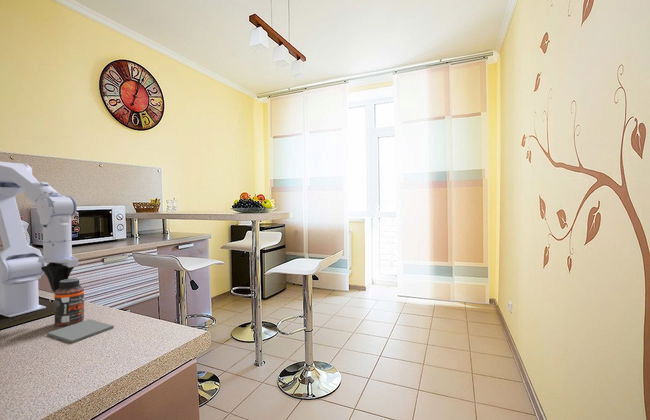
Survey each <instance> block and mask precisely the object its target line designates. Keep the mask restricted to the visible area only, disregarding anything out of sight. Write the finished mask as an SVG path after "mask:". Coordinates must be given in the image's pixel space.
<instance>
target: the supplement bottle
mask: <svg viewBox="0 0 650 420" xmlns="http://www.w3.org/2000/svg"><path fill="white" fill-rule="evenodd" d="M59 286H60V287H59V289H57V290H56V291H55V292H54V325H55V326H57V327H67V326H70V325H73V324H76V323H79V322H83V321H84V319H85V290H84V287H83V286H81V284H80V279H79V278H68V279H65V280H61V281H60V285H59Z"/></svg>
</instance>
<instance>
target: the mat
mask: <svg viewBox="0 0 650 420" xmlns="http://www.w3.org/2000/svg"><path fill="white" fill-rule="evenodd" d="M114 327H115V326H114V325H112V324H109V323H105V322H102V321H98V320H94V319H86V320H82V321H81V322H79V323H76V324H73V325H68V326H63V327H61V328H59V329H55V330H52V331H48V332H47V336H49V337H52V338H55V339H57V340H58V339H59V340H61V341H63V342H67V343H70V344H74V343H77V342H79V341H82V340H85V339H87V338H90V337H93V336H95V335H98V334H102V333H104V332H107V331H109V330H111V329H114Z"/></svg>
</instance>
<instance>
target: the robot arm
mask: <svg viewBox="0 0 650 420" xmlns="http://www.w3.org/2000/svg"><path fill="white" fill-rule="evenodd" d="M22 193H24V196H25V197H26V198H27V199H28V200H29V201H30V202H31V203H32V204H34V205H35V206H36V212H37V214H38V217H39V222H40V225H42V242H43V243H42V248H43V250H42V252H41V250H40V249H39V248H36V247H34V246H31V245H29V243H28V239H27V236H26V232H25V228H24V225H23V222H22V217H21V215H20V211H19V207H18V203H17V200H16V196H17V195H19V194H22ZM77 206H78V205H77V203H76V200H75V199H74V198H73V197H72V195H62V194H60V193H59V192H58V191H57V190H56V189H55V188H54V187H52V186H51V185H50V183H49V182H45V181H39V180H38V179H37V178H36V177H35V176H34V175H33V168H32V166H30V165H29V164H28V163H17V162H11V161H10V162H8V161H7V162H6V161H0V240H1V242H2V243H1V244H2V248H3V250H1V251H0V315H2V316H4V317H8V318H12V317H16V316H17V317H18V316H20V315H24V314H27V313H31V312H35V311H40V310H43V309H46V306H44V305H41V304H40V303H39V299H40V298H39V279H41V278H42V276H44V274H45V276H46V278H47V280H48V282H49V285H50V287H51V291H52V292H53V293H55V291H56V290H57V289H59V287H60V286H59V285H60V281H61V280H65V279H69V277H70V274H71V273H72V271H73V269H75V267H79V258H76V257H75V256H74V255H73V250H72V249H73V247H72V246H73V241H72V234H73V233H72V232H73V231H72V218H73V217H74V216H75V215H76V213H77ZM42 253H43V254H42Z"/></svg>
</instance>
